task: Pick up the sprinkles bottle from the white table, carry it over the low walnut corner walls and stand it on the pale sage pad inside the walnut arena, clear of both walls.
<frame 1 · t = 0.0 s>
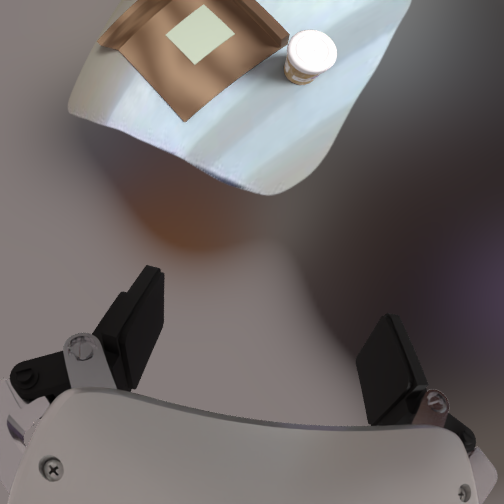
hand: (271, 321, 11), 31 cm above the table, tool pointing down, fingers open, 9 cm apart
sage pad: (199, 33, 29), resting on walnut arena
sprinkles bottle: (300, 69, 32), on the table
walnut arena: (194, 38, 30), on the table
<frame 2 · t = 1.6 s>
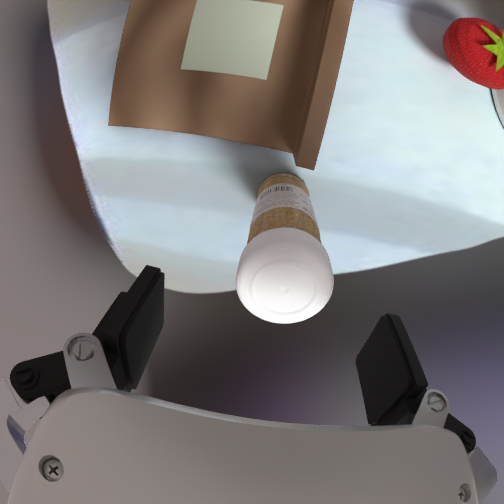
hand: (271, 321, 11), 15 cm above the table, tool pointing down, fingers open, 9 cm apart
sage pad: (231, 34, 17), resting on walnut arena
sprinkles bottle: (283, 196, 25), on the table
walnut arena: (220, 35, 18), on the table
strawberry: (451, 57, 16), on the table
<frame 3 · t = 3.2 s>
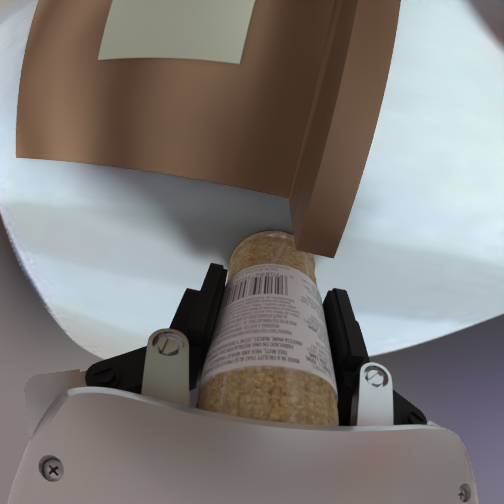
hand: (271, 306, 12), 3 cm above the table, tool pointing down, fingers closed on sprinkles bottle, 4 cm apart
sprinkles bottle: (273, 264, 15), on the table, touching gripper
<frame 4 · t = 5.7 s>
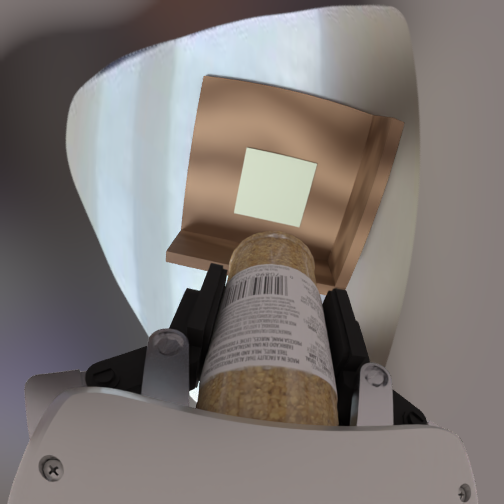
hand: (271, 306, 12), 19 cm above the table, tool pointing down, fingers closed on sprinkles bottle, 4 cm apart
sage pad: (274, 188, 28), resting on walnut arena
sprinkles bottle: (273, 264, 15), point 15 cm above the table, touching gripper
walnut arena: (276, 177, 28), on the table
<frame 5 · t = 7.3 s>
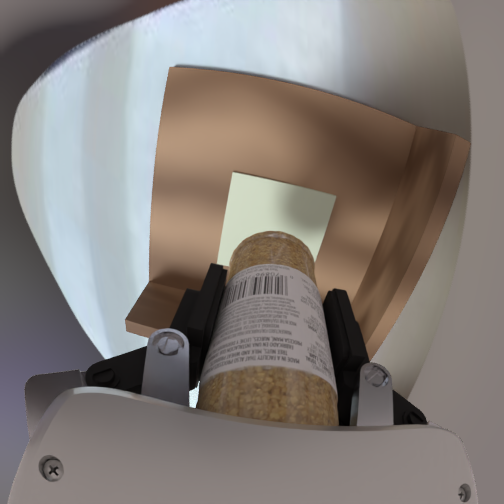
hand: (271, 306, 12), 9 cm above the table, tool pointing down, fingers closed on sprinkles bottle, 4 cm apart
sage pad: (273, 230, 20), resting on walnut arena
sprinkles bottle: (273, 264, 15), point 6 cm above the table, touching gripper
walnut arena: (276, 214, 20), on the table
when the fingers open (5 cm above the table, at t = 8.5 s): sprinkles bottle stays where it is, resting on sage pad.
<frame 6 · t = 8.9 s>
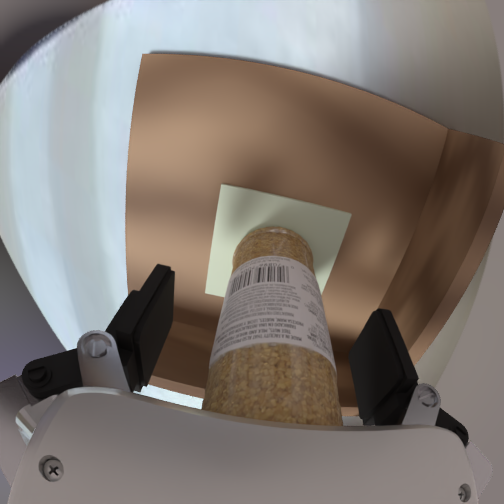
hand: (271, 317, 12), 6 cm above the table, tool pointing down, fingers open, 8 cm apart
sage pad: (273, 255, 16), resting on walnut arena
sprinkles bottle: (273, 258, 16), point 1 cm above the table, touching sage pad
walnut arena: (277, 235, 16), on the table
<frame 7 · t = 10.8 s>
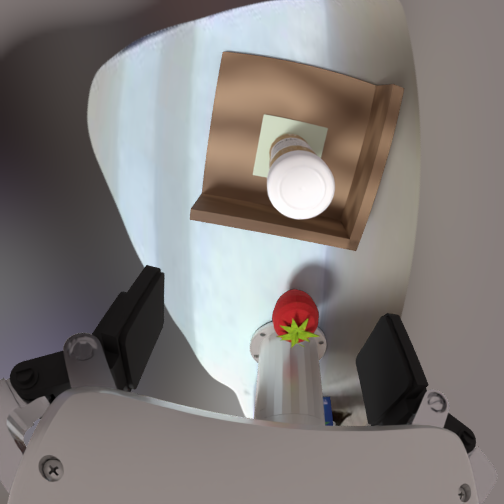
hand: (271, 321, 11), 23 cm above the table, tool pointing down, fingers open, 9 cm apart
sage pad: (289, 150, 30), resting on walnut arena
sprinkles bottle: (290, 152, 30), point 1 cm above the table, touching sage pad
walnut arena: (291, 141, 30), on the table
strawberry: (293, 291, 40), on the table
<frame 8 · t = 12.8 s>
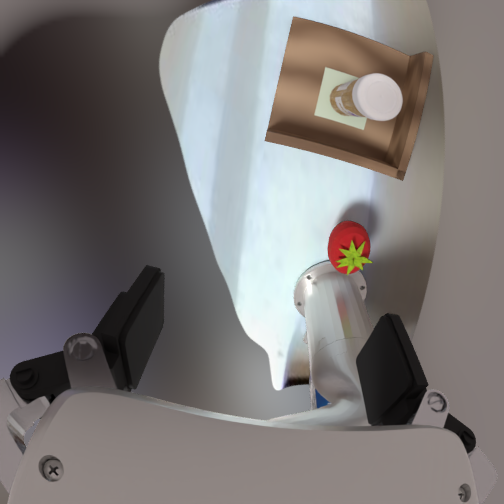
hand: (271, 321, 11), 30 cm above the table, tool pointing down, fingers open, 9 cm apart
sage pad: (345, 98, 32), resting on walnut arena
sprinkles bottle: (345, 99, 32), point 1 cm above the table, touching sage pad
beverage box: (334, 369, 57), on the table
walnut arena: (345, 92, 32), on the table
strawberry: (340, 231, 42), on the table
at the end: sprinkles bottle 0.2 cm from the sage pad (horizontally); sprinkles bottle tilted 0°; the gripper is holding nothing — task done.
